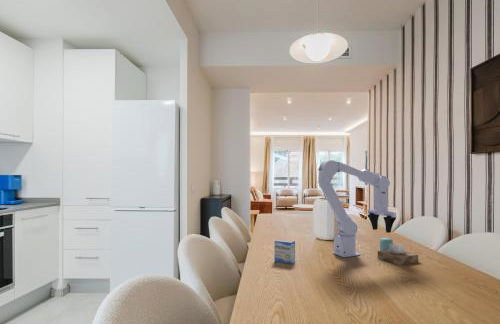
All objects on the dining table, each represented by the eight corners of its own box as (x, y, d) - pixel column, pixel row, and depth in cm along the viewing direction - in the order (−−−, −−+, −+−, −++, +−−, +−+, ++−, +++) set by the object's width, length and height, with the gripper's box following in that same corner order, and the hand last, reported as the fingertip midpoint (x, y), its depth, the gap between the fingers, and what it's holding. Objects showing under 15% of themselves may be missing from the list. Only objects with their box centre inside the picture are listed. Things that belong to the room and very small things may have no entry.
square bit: (397, 261, 124) (397, 246, 124) (389, 258, 127) (389, 244, 127) (404, 260, 125) (404, 245, 125) (396, 257, 129) (395, 243, 129)
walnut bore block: (399, 265, 119) (399, 257, 119) (377, 258, 129) (377, 251, 129) (418, 261, 123) (418, 254, 124) (395, 255, 134) (395, 248, 134)
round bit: (387, 253, 136) (386, 240, 137) (377, 250, 142) (377, 238, 142) (395, 252, 139) (395, 239, 139) (385, 249, 144) (385, 237, 144)
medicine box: (274, 261, 125) (273, 240, 125) (278, 258, 128) (278, 238, 129) (291, 264, 121) (291, 242, 121) (295, 261, 125) (295, 240, 125)
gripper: (400, 202, 132) (401, 233, 132) (375, 199, 146) (375, 227, 145) (389, 203, 129) (389, 234, 129) (364, 200, 143) (364, 228, 142)
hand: (381, 231), depth 137 cm, fingers open, 7 cm apart
